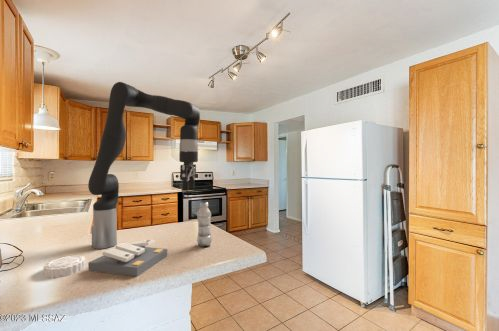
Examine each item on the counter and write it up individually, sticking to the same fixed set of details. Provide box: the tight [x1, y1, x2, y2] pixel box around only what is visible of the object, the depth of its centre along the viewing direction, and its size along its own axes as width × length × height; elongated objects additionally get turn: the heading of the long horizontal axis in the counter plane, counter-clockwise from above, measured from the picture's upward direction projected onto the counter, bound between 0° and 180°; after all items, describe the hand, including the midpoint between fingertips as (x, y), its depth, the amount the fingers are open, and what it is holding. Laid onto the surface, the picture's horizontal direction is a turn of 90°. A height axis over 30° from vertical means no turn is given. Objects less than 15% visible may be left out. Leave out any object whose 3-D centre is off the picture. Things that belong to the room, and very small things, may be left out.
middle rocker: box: [114, 242, 145, 255], centre depth 91 cm, size 10×4×1 cm, turn 77°
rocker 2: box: [129, 238, 156, 247], centre depth 97 cm, size 10×4×1 cm, turn 77°
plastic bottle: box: [196, 201, 213, 247], centre depth 110 cm, size 6×7×20 cm
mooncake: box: [43, 255, 87, 279], centre depth 86 cm, size 12×12×4 cm
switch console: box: [87, 246, 168, 277], centre depth 91 cm, size 20×18×4 cm
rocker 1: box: [102, 247, 135, 262], centre depth 86 cm, size 10×4×1 cm, turn 77°
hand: (188, 189), depth 100 cm, fingers open, 8 cm apart
